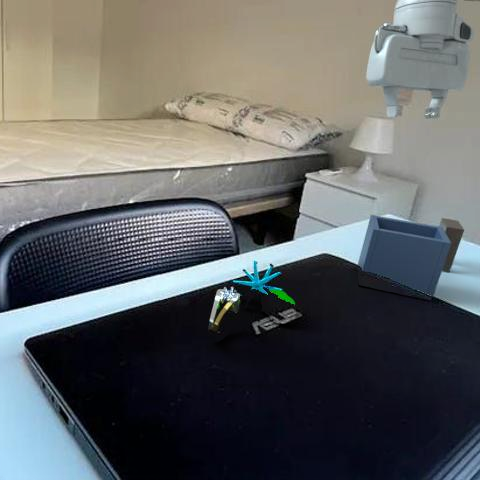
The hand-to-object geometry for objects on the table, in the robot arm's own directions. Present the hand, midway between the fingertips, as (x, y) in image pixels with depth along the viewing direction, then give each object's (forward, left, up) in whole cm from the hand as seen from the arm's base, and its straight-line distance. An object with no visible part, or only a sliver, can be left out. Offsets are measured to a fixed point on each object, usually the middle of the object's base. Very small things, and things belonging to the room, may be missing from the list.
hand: (413, 117), depth 82 cm
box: (-4, +3, -29) cm, 29 cm away
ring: (+21, +34, -29) cm, 49 cm away
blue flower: (+16, +22, -29) cm, 40 cm away
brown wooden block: (-14, -11, -29) cm, 34 cm away
